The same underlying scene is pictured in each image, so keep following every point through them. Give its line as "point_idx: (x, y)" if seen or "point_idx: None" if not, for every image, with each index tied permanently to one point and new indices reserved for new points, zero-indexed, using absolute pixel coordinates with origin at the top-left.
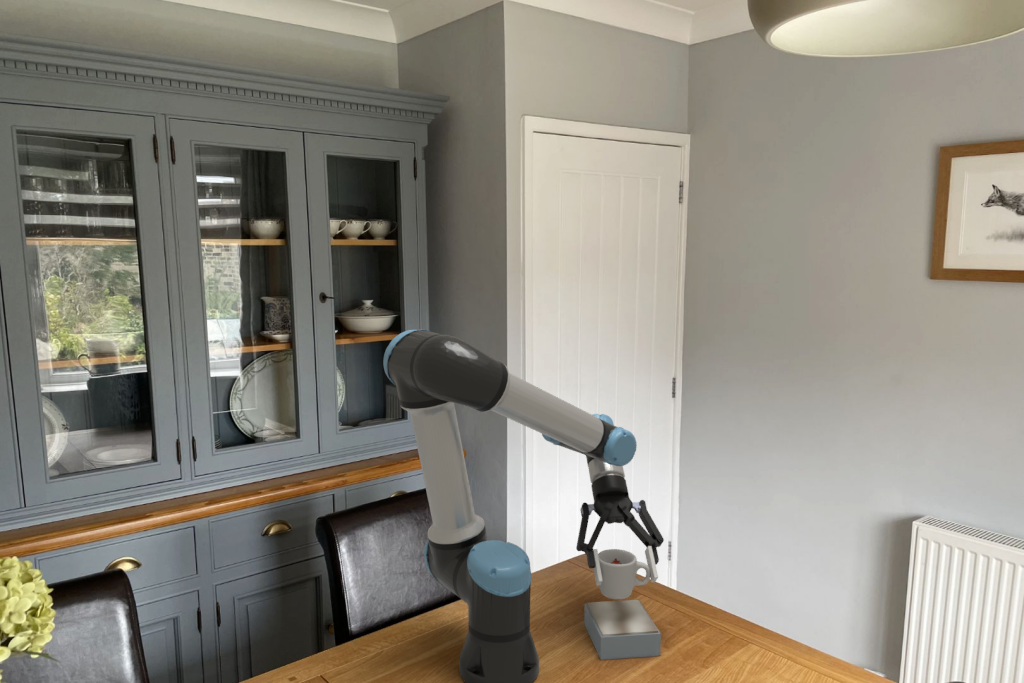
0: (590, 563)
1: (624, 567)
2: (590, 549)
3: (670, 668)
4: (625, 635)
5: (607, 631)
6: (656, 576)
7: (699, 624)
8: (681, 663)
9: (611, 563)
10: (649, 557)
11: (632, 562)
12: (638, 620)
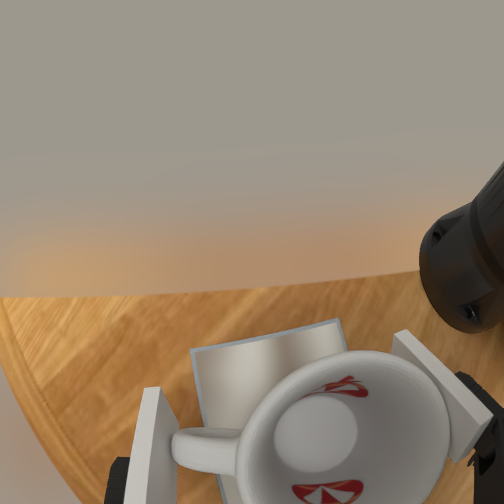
0: (466, 376)
1: (315, 360)
2: (501, 412)
3: (188, 311)
4: (279, 334)
5: (325, 338)
6: (150, 391)
7: (104, 467)
8: (164, 329)
9: (353, 499)
10: (154, 475)
11: (267, 399)
12: (239, 402)
